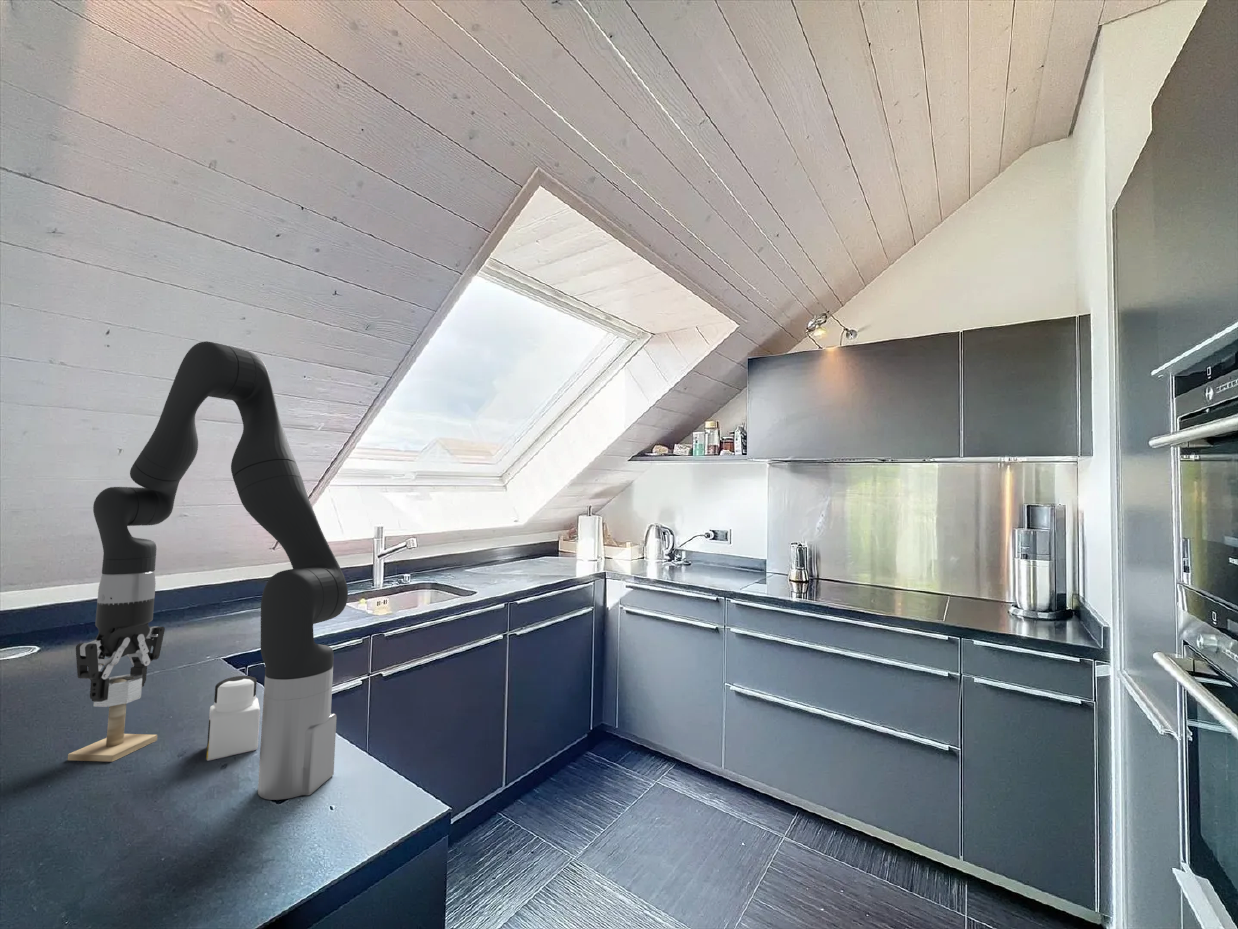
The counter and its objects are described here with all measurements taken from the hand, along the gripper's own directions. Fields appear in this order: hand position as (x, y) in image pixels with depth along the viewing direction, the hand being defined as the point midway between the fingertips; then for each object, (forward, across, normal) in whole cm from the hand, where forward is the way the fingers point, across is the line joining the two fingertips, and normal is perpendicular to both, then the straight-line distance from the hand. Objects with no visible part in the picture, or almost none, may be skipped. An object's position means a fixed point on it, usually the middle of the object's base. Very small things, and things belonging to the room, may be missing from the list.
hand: (118, 693), depth 92 cm
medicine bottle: (+10, +2, -20) cm, 22 cm away
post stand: (+10, 0, 0) cm, 10 cm away
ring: (+1, 0, 0) cm, 1 cm away
